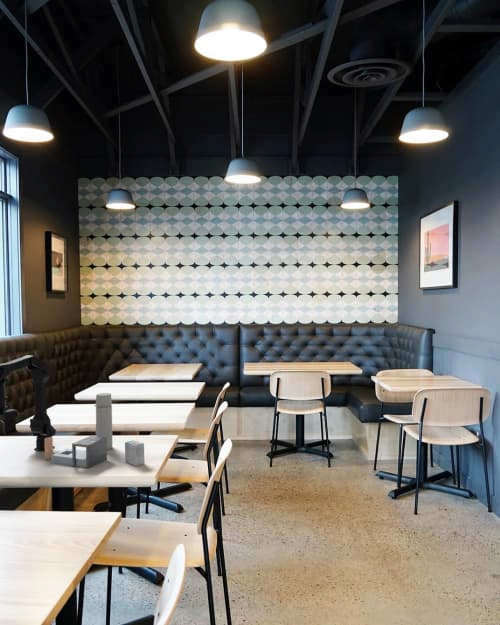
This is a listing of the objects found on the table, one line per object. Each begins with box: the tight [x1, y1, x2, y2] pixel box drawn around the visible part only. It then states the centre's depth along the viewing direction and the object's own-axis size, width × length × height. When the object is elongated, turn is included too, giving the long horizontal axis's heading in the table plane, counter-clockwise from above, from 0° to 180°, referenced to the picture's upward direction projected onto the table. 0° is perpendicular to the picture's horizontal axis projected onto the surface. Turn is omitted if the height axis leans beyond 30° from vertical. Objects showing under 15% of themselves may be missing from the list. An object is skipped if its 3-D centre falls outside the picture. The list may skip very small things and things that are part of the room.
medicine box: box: [124, 439, 145, 467], centre depth 206 cm, size 8×4×9 cm, turn 47°
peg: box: [44, 436, 54, 461], centre depth 212 cm, size 3×3×9 cm
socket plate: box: [50, 448, 86, 468], centre depth 209 cm, size 10×19×3 cm, turn 69°
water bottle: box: [94, 392, 113, 451], centre depth 227 cm, size 9×8×25 cm
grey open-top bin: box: [71, 435, 108, 469], centre depth 207 cm, size 12×8×10 cm, turn 159°
